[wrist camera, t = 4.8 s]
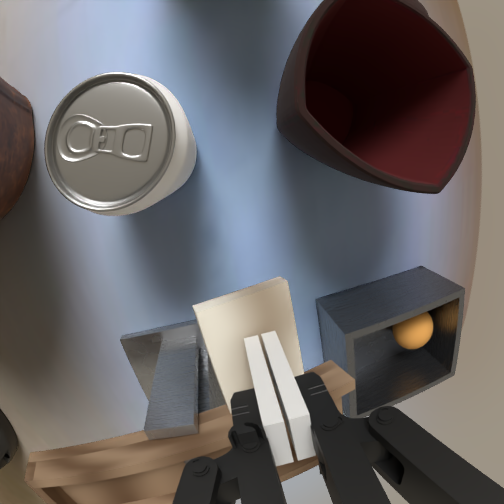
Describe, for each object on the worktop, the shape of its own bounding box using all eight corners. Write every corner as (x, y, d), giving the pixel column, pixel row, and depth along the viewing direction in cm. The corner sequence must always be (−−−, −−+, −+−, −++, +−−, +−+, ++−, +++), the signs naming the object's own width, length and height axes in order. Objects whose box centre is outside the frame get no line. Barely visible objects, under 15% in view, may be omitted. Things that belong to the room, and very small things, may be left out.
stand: (164, 424, 28) (157, 512, 18) (121, 335, 25) (84, 423, 15) (260, 405, 29) (283, 495, 18) (233, 310, 26) (252, 398, 15)
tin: (326, 380, 29) (350, 422, 23) (315, 299, 27) (344, 334, 21) (420, 344, 30) (454, 375, 24) (421, 265, 28) (464, 288, 21)
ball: (426, 360, 24) (435, 335, 27) (429, 322, 23) (437, 300, 26) (386, 354, 27) (399, 332, 29) (386, 318, 26) (398, 297, 28)
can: (121, 109, 21) (52, 63, 9) (204, 117, 22) (201, 67, 11) (108, 192, 22) (29, 214, 11) (190, 202, 24) (173, 232, 12)
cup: (235, 147, 23) (262, 124, 11) (299, 6, 20) (356, -75, 9) (349, 197, 25) (446, 221, 14) (397, 61, 23) (490, 22, 11)
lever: (80, 505, 16) (80, 531, 13) (-27, 369, 12) (-44, 393, 10) (336, 424, 22) (356, 444, 19) (318, 262, 18) (346, 274, 16)
